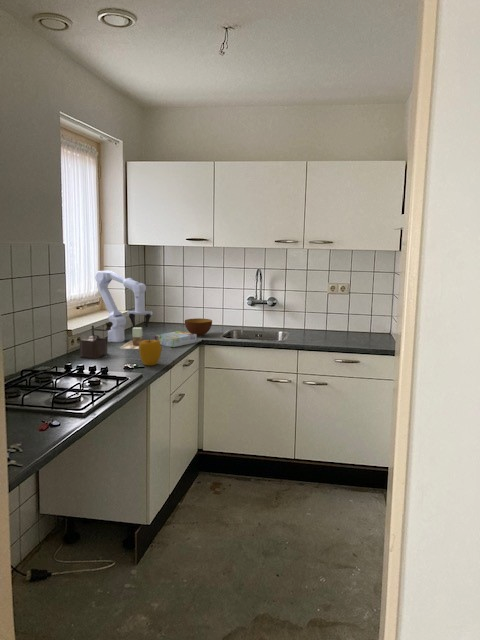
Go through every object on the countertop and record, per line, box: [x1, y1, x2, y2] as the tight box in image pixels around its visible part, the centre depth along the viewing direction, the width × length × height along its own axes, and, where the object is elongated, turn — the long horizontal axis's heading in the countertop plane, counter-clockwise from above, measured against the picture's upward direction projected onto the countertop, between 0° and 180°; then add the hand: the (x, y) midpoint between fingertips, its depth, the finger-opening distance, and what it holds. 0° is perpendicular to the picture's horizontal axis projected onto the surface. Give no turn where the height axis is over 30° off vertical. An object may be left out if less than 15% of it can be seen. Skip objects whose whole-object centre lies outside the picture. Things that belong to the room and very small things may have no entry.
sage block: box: [132, 326, 143, 338], centre depth 310 cm, size 4×4×5 cm
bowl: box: [184, 318, 213, 338], centre depth 345 cm, size 18×18×10 cm
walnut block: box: [132, 335, 144, 346], centre depth 311 cm, size 4×4×5 cm
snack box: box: [154, 330, 198, 348], centre depth 319 cm, size 21×6×15 cm
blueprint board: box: [119, 339, 139, 350], centre depth 313 cm, size 17×24×1 cm
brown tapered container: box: [79, 320, 113, 360], centre depth 286 cm, size 16×11×18 cm
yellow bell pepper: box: [138, 338, 162, 367], centre depth 267 cm, size 11×11×13 cm
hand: (140, 326), depth 316 cm, fingers open, 7 cm apart
